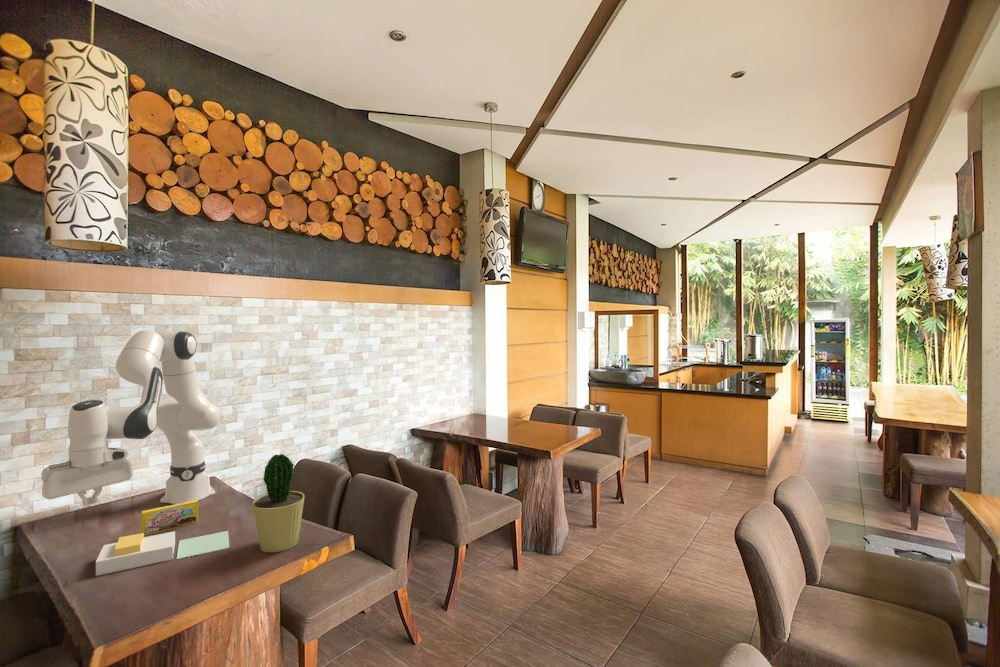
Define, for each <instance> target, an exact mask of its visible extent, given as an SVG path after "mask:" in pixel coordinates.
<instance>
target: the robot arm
mask: <svg viewBox="0 0 1000 667" xmlns="http://www.w3.org/2000/svg"><path fill="white" fill-rule="evenodd" d="M197 345H198V344H197V339H196V337H195V336H194V335H193V334H192V333H190V332H187V331H159V332H156V331H153V330H148V329H145V330H140V331H138V332H135V333H134V334H133V336H131V337H130V339H129V340H128V342H126V344H125V345H124V347H123V348H122V350H121V351H120V354H119V356H117V360H116V362H115V369H116V372H117V374H118V375H119V376H120V377H121V378H122V379H124V380H125V381H127V382H129V383H131V384H134V385H138V386H142V387H143V388H142V392H141V397H140V402H139V404H137V405H134V406H130V407H129V406H126V407H125V406H124V407H119V406H118V407H115V406H114V407H113V406H112V407H111V406H106V403H105V401H103V400H99V399H92V400H84V401H79V402H77V403H75V404H73V405H72V406H71V407H70V409H69V414H68V421H67V435H68V439H69V446H68V448H67V449H68V461H64V462H60V463H57V464H56V463H54V464H50V465H48V466H47V467H45V468H43V470H42V471H41V481H42V486H41V496H42V497H43V498H44V499H46V500H54V499H59V498H62V497H66V496H70V495H74V494H77V496H78V497H79V498H80V499H81V500H82V505H83V506H84V507H86V506H89V505H94V504H97V503H98V497H99V496H100V495H101V493H102V491H103V487H106V486H110V485H114V484H117V483H118V484H119V483H122V482H125V481H130V480H131V478H132V477H133V465H132V462H131V460H130V459H129V458H128V457H129V450H127V449H123V448H118V447H109V440H117V439H123V440H124V439H130V440H131V439H132V440H144V439H146V438H147V437H149V436H150V435H151V434H153V432H154V431H156V429H157V428H158V429H159V430H160V431H162V433H163V435H164V436H165V437H166V439H167V442H168V444H169V448H170V456H171V457H170V459H171V461H170V462H171V463H170V467H169V474H170V476H169V478H168V479H167V480H166V481H165V494H164V495H163V496H162V497H161V498H160V501H159V503H161V504H164V503H166V504H171V505H174V504H179V503H184V502H189V501H193V500H198V501H201V500H203V499H205V498H207V497H209V496H212V495H215V494H216V491H215V489H214V488H213V487H212V485H211V482H210V475H209V473H207V472H206V462H205V458H204V450H205V449H204V443H203V441H202V440H201V439H199V438H198V437H196V435H195V434H194V433H193V432H194V431H199V432H200V431H205V430H211V429H214V428H215V427H216V426H217V425H218V423H220V420H221V411H220V409H219V408H218V406H217V405H215V404H213V403H212V402H210V401H209V400H208V399H207V397H206V396H205V394H204V393H203V391H202V389H201V387H200V384H199V380H198V375H197V370H196V368H197V367H196V364H195V360H194V356H195V354H196V352H197V348H198V347H197ZM159 362H161V369H160V367H158V364H159ZM163 384H164V389H165V392H166V394H167V395H168V396H170V397H172V398H173V399H174V400H175V401H176V402H171V403H170V402H169V403H165V404H161V405H160V399H161V395H162V389H163ZM108 439H109V440H108ZM90 490H93V491H94V492H93V494H92V496H89V497H87V496H86V495H87V491H90Z"/></svg>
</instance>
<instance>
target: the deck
mask: <svg viewBox="0 0 1000 667" xmlns="http://www.w3.org/2000/svg"><path fill="white" fill-rule="evenodd" d="M116 545H117V542H112V543H108V544H106V543H105V544H103V546H102V548H101V550H100V552H99V554H98V556H97V559H96V561H95V576H96V577H97V576H102V575H107V574H111V573H116V572H120V571H125V570H130V569H134V568H135V569H136V568H139V567H140V568H141V567H143V566H144V567H145V566H149V565H153V564H157V563H158V564H159V563H163V562H167V561H171V559H172V560H173V559H174V555H173V554H175V547H176V531H170V532H164V533H159V534H155V535H153V534H152V535H147V536H144V541H143V544H142V547H141V550H140V551H138V552H133V553H128V554H123V555H118V556H115V551H114V549H115V547H116Z"/></svg>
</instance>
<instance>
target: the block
mask: <svg viewBox="0 0 1000 667" xmlns="http://www.w3.org/2000/svg"><path fill="white" fill-rule="evenodd" d="M144 537H145V536H144V533H142V532H141V533H136V534H129V535H124V536H119V538H118V540H117V542H116V543H117V545H116V547H115V549H114V551H115V556H118V555H123V554H128V553H133V552H138V551H140V550H141V547H142V544H143V541H144Z"/></svg>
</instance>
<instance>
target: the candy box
mask: <svg viewBox="0 0 1000 667" xmlns="http://www.w3.org/2000/svg"><path fill="white" fill-rule="evenodd" d="M198 523H199V500H193V501H189V502H184V503H179V504H171V505H165V506H162V507H157V508H151V509H147V510H142V511H141V533H144V537H147V536H151V535H153V534H157V533H161V532H162V531H163V532H166V530H167V531H171V530H174V529H178V528H183V527H188V526H191V525H195V524H198Z"/></svg>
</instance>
